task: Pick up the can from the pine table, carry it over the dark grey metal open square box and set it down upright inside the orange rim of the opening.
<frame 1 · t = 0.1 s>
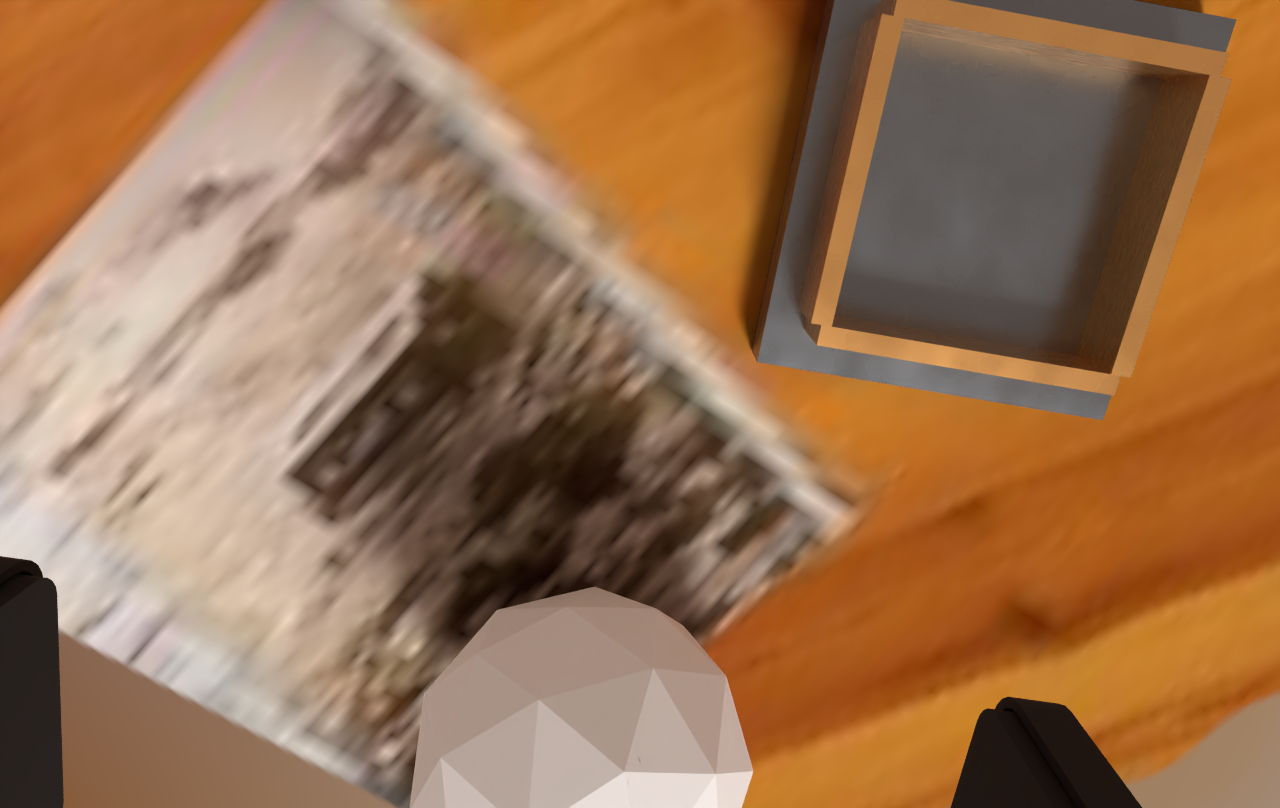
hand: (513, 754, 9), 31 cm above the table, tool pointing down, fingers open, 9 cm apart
geodesic sphere: (591, 666, 45), on the table
open square box: (966, 196, 38), on the table
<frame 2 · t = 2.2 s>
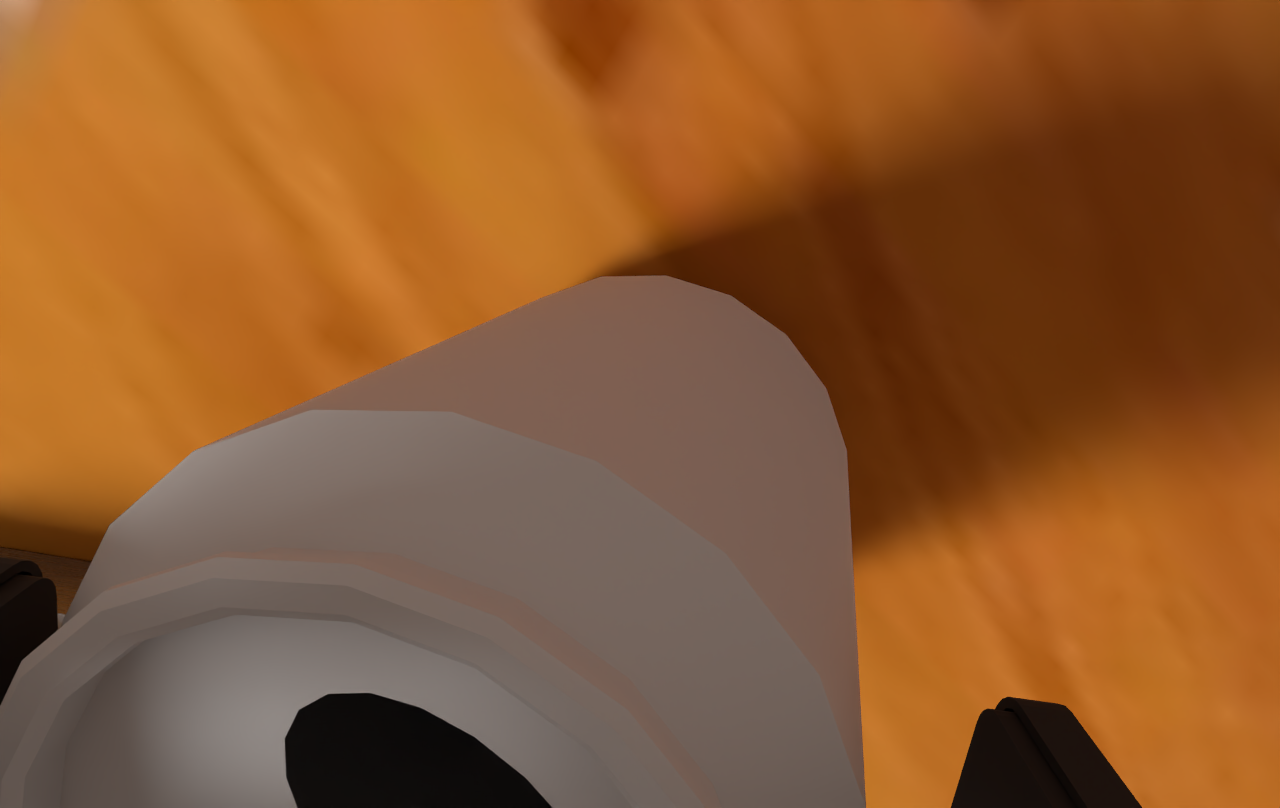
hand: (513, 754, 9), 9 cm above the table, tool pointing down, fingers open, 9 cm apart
can: (652, 458, 18), on the table
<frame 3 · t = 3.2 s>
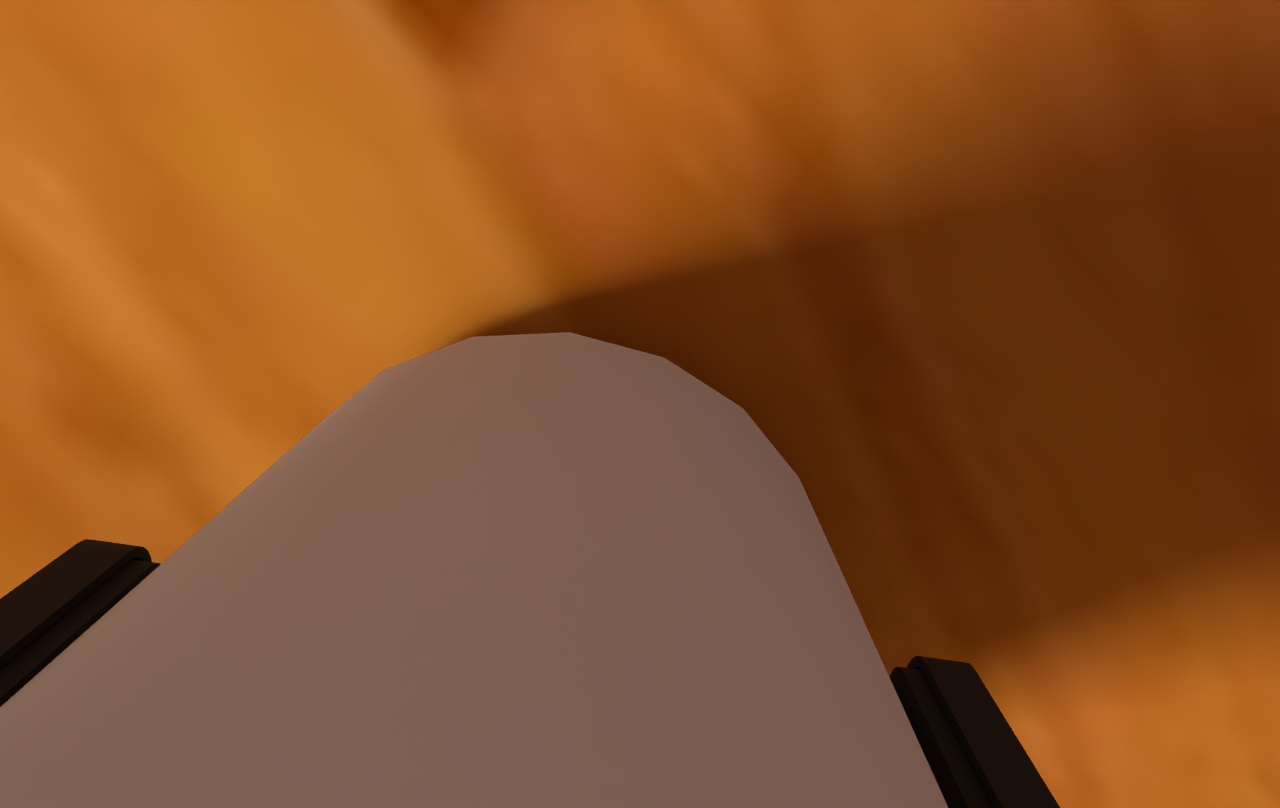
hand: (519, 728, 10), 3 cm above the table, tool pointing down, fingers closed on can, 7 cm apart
can: (552, 571, 13), on the table, touching gripper
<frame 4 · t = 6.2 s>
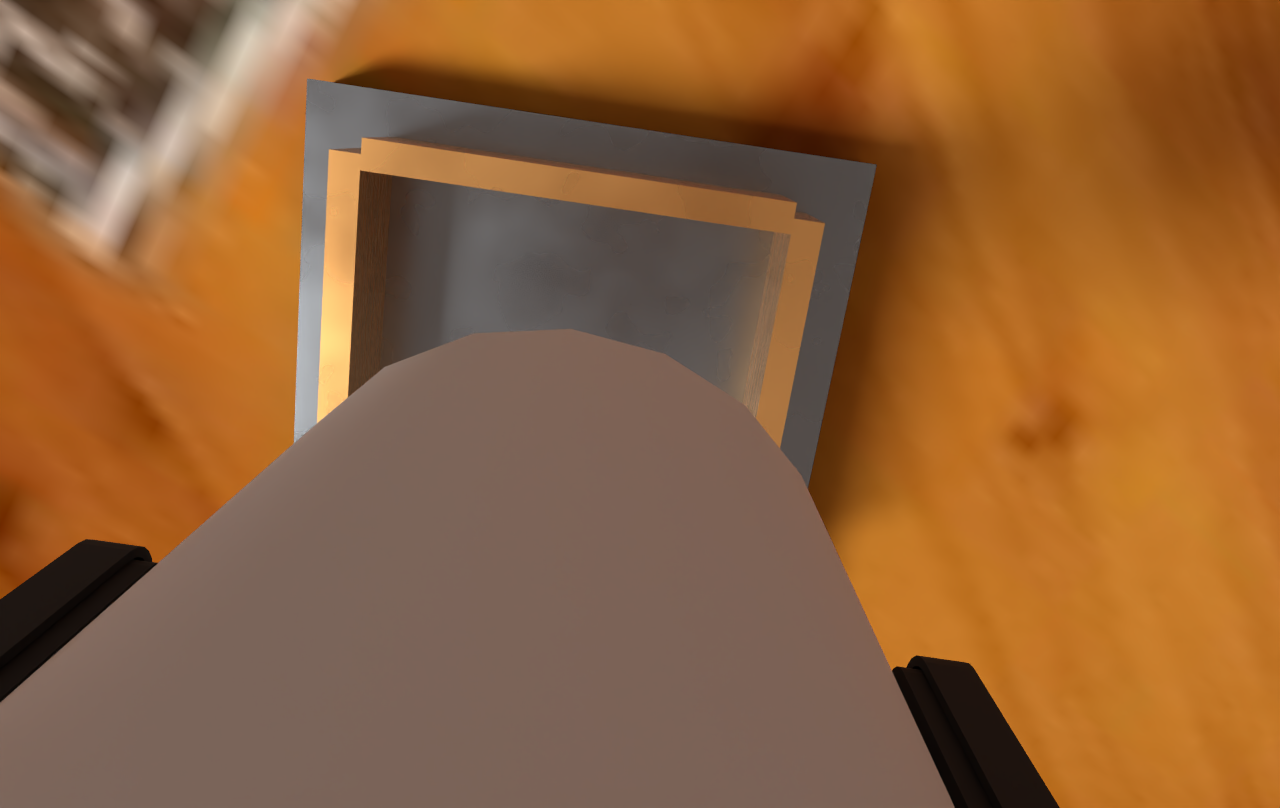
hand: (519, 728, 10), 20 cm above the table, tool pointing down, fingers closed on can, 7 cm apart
open square box: (568, 363, 29), on the table
can: (553, 569, 13), point 17 cm above the table, touching gripper
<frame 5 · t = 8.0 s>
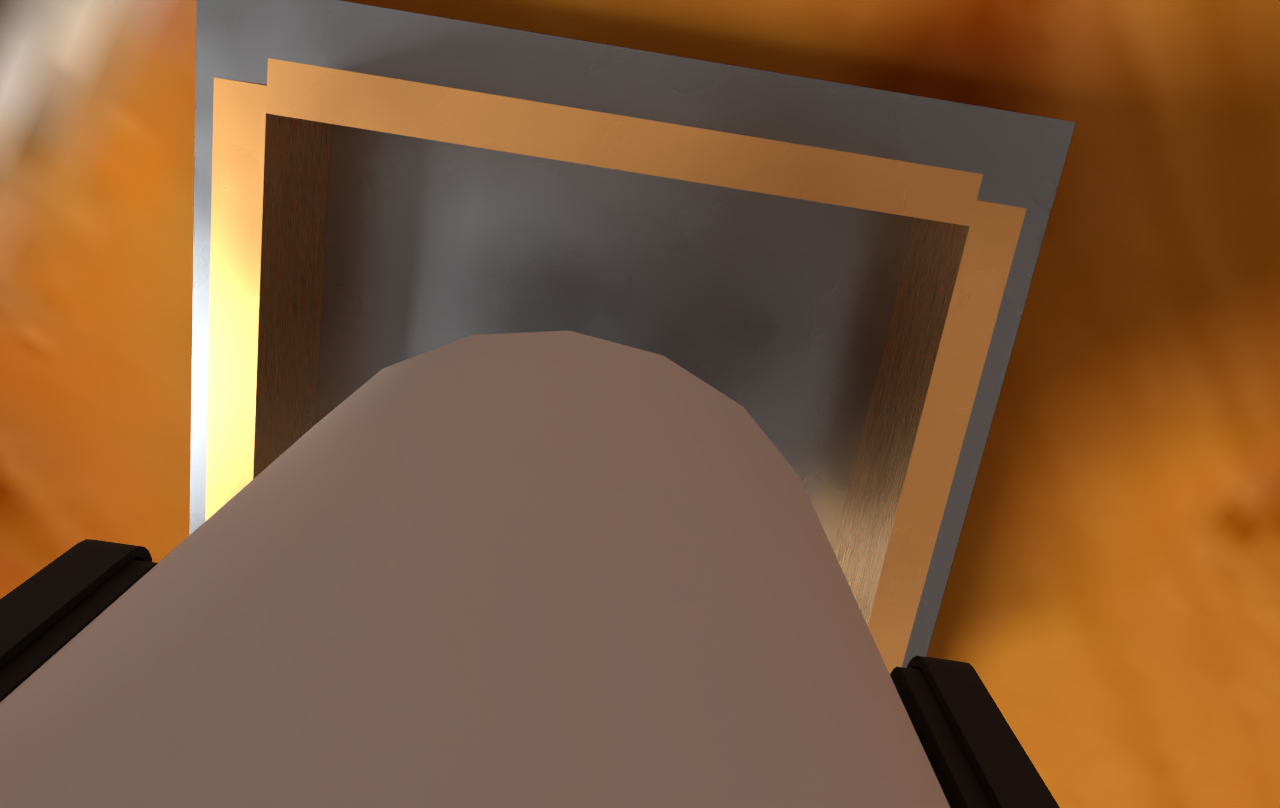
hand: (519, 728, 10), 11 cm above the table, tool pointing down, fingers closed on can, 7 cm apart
open square box: (592, 411, 20), on the table
can: (552, 570, 13), point 8 cm above the table, touching gripper
when the fingers open (7 cm above the table, at t = 9.5 s): can drops 1 cm, resting on open square box.
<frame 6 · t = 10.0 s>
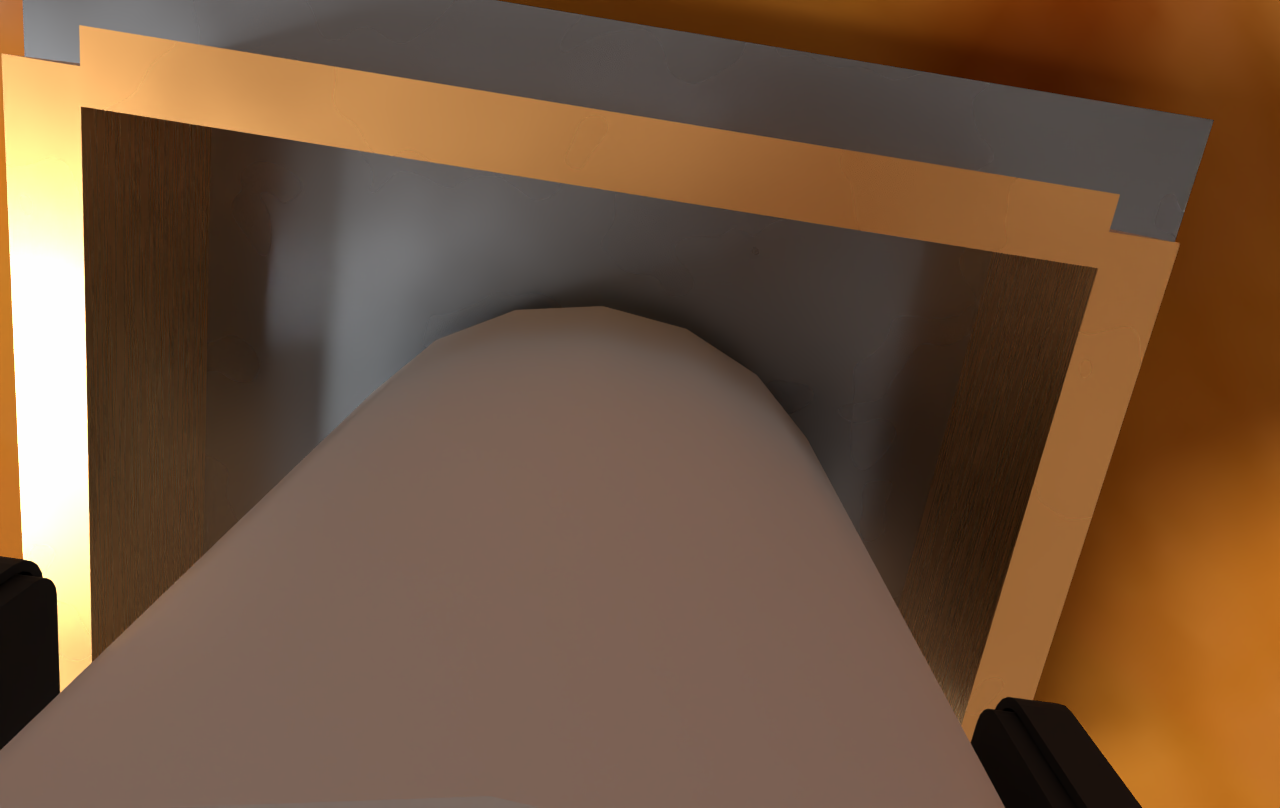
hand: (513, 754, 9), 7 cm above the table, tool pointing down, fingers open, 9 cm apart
open square box: (569, 487, 16), on the table
can: (581, 526, 14), point 2 cm above the table, touching open square box
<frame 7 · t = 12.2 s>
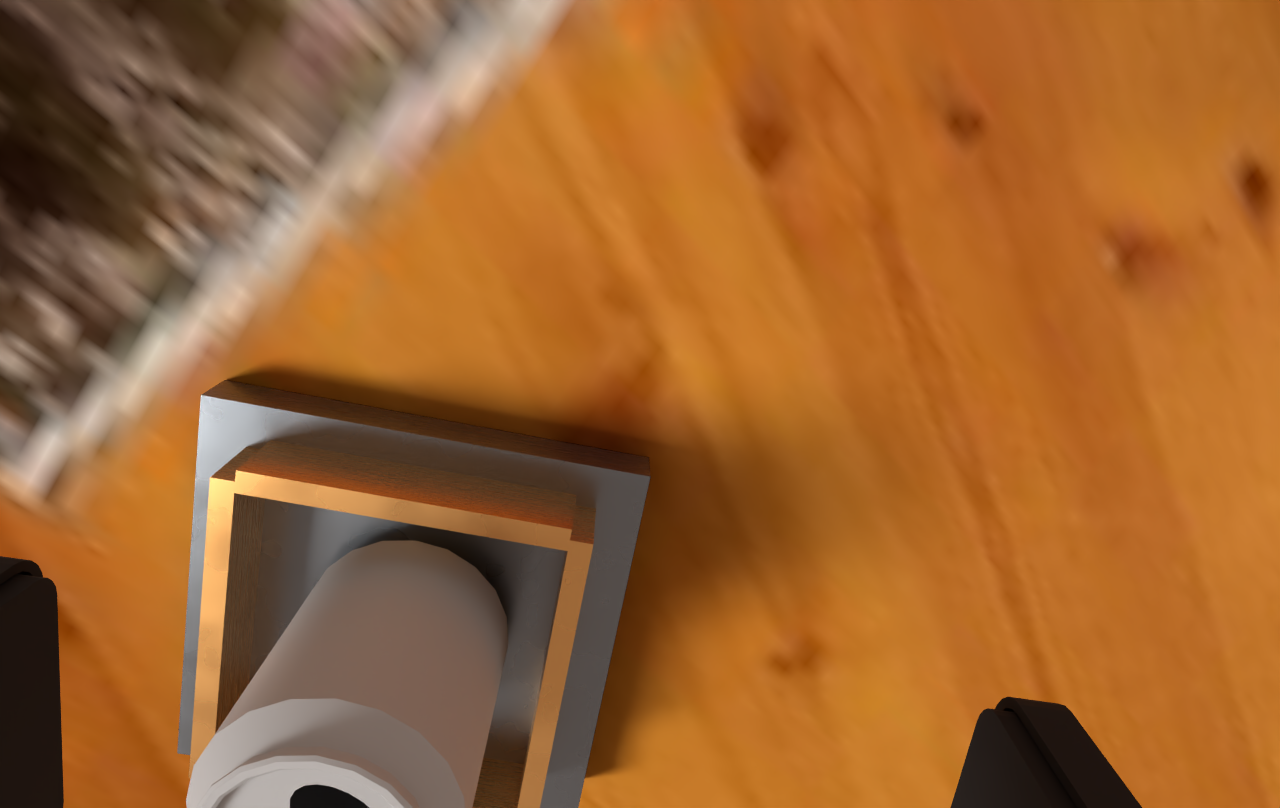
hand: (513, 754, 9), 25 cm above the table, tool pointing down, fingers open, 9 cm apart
open square box: (415, 595, 36), on the table
can: (413, 617, 34), point 2 cm above the table, touching open square box
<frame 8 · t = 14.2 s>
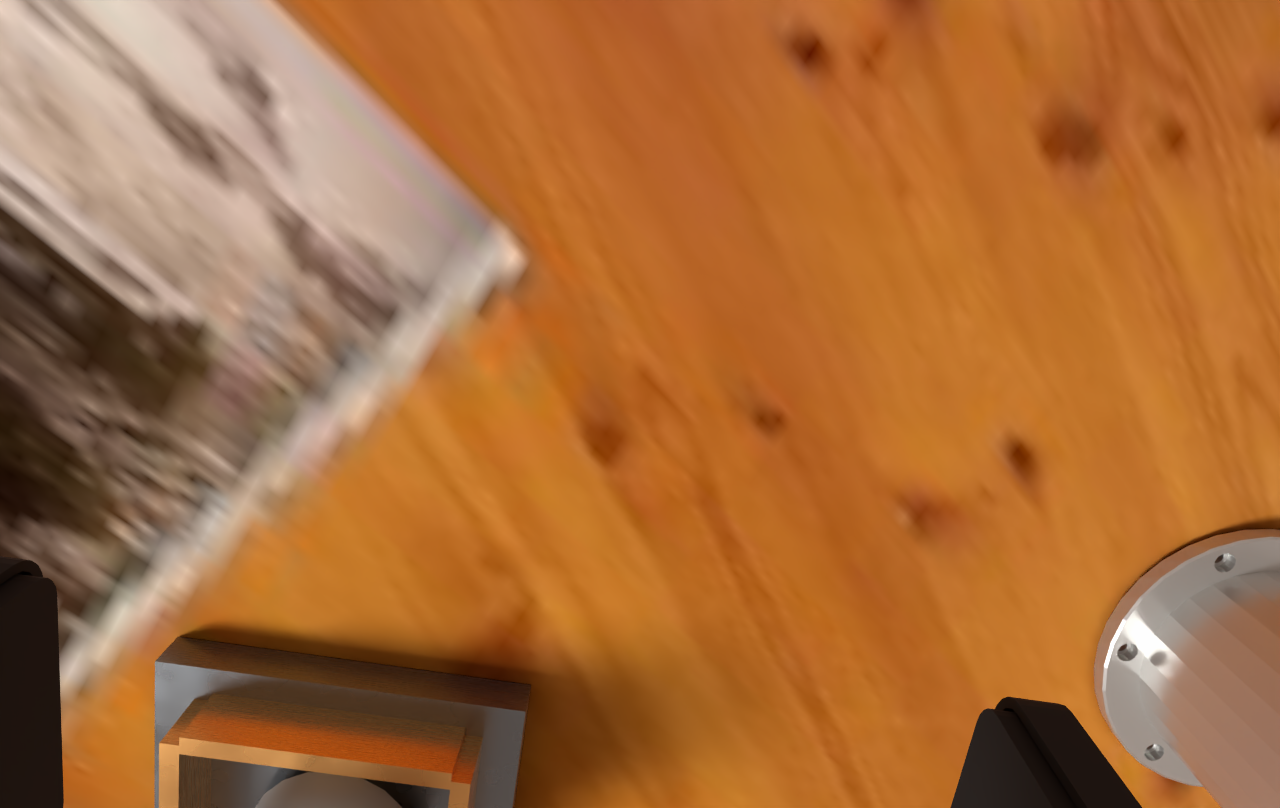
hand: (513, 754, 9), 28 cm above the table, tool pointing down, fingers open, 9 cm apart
open square box: (345, 797, 43), on the table
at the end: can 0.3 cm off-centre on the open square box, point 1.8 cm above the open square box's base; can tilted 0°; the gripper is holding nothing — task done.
